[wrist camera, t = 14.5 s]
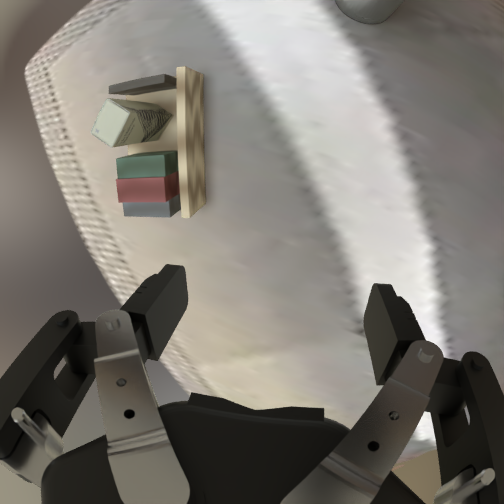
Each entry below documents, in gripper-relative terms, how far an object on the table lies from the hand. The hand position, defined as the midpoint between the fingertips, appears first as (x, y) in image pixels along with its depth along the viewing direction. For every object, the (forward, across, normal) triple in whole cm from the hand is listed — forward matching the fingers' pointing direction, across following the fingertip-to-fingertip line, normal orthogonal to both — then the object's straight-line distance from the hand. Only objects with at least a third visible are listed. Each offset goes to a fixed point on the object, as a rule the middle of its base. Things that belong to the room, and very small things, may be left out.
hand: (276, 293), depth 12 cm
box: (+32, +21, -8) cm, 39 cm away
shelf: (+33, +20, -4) cm, 39 cm away
